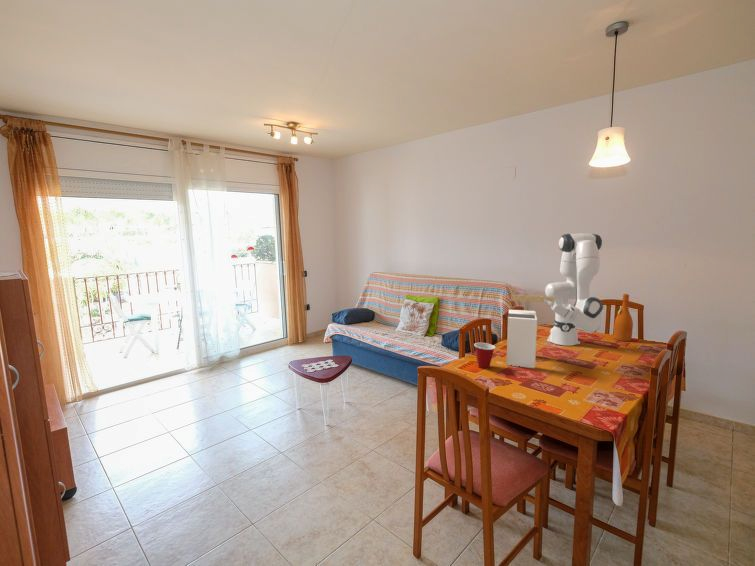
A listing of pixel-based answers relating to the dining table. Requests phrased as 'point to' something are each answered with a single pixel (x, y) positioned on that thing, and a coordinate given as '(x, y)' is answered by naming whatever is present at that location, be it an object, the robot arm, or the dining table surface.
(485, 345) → the plastic cup
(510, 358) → the white upright block
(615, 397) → the dining table surface
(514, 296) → the light wood bar
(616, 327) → the wine bottle
